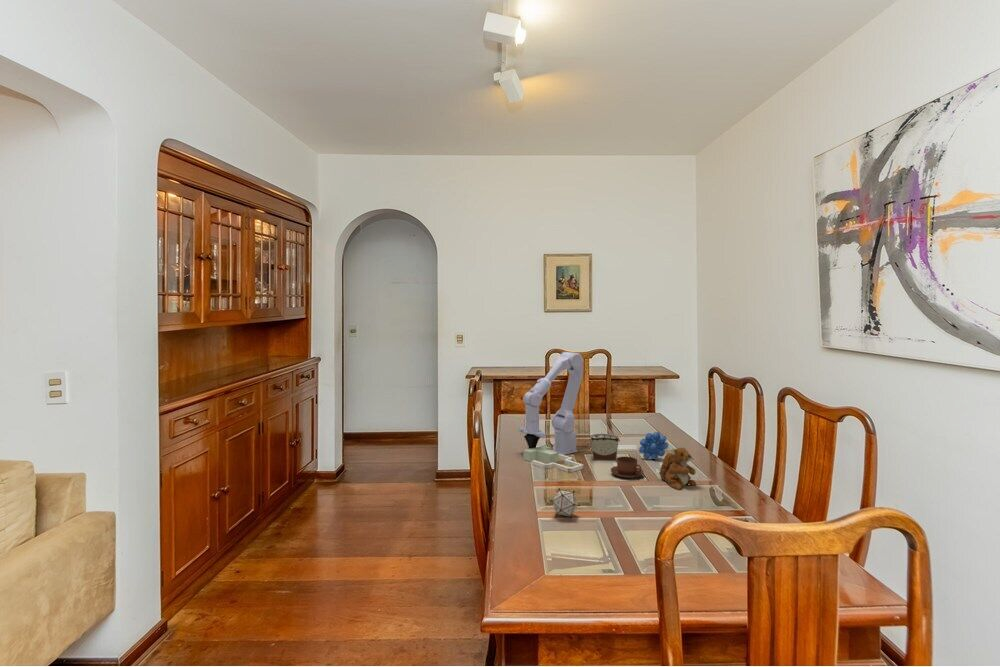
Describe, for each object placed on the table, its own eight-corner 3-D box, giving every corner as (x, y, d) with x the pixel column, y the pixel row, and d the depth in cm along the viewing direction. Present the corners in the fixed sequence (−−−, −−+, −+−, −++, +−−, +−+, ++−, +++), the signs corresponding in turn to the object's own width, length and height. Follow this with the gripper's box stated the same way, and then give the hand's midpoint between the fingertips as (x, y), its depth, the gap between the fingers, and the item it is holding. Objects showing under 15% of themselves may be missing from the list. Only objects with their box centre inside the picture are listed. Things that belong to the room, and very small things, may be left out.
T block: (544, 454, 221) (544, 445, 221) (564, 460, 212) (564, 451, 212) (523, 459, 214) (523, 450, 213) (543, 466, 204) (543, 456, 204)
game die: (559, 526, 155) (546, 495, 160) (584, 515, 156) (570, 485, 160) (558, 522, 147) (545, 490, 152) (585, 511, 148) (571, 479, 153)
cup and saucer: (646, 473, 195) (646, 457, 195) (639, 482, 185) (639, 465, 184) (615, 469, 201) (615, 453, 201) (606, 477, 190) (606, 461, 190)
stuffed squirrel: (679, 491, 176) (679, 453, 175) (650, 479, 188) (651, 443, 188) (700, 486, 180) (701, 449, 179) (671, 475, 193) (671, 440, 192)
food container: (617, 456, 217) (618, 433, 217) (619, 461, 211) (620, 437, 211) (588, 456, 218) (588, 433, 218) (589, 460, 212) (589, 436, 212)
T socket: (559, 457, 217) (559, 453, 216) (590, 466, 203) (590, 463, 203) (532, 464, 207) (532, 460, 207) (562, 474, 194) (562, 470, 193)
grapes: (668, 458, 214) (668, 430, 214) (667, 463, 208) (668, 433, 208) (639, 456, 219) (640, 428, 218) (638, 460, 212) (638, 431, 212)
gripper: (514, 418, 221) (514, 449, 221) (537, 424, 209) (537, 457, 210) (526, 416, 225) (526, 447, 226) (549, 421, 214) (549, 454, 214)
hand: (532, 451), depth 218 cm, fingers closed
